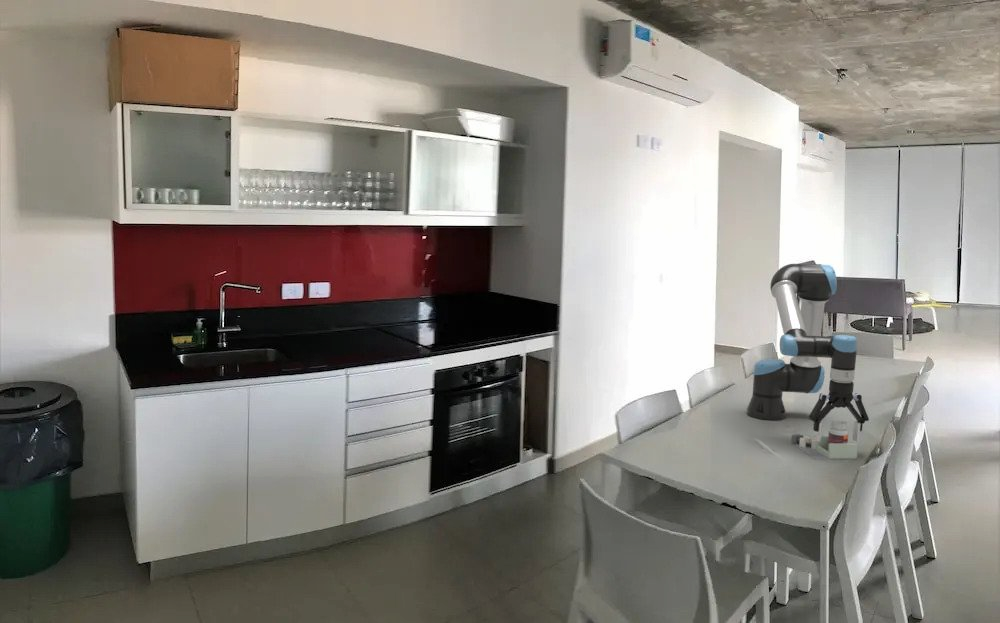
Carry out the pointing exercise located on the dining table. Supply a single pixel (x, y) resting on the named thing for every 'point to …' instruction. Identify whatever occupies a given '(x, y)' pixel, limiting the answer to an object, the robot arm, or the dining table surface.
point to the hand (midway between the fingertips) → (836, 440)
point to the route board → (808, 446)
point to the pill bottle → (838, 432)
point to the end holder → (836, 449)
